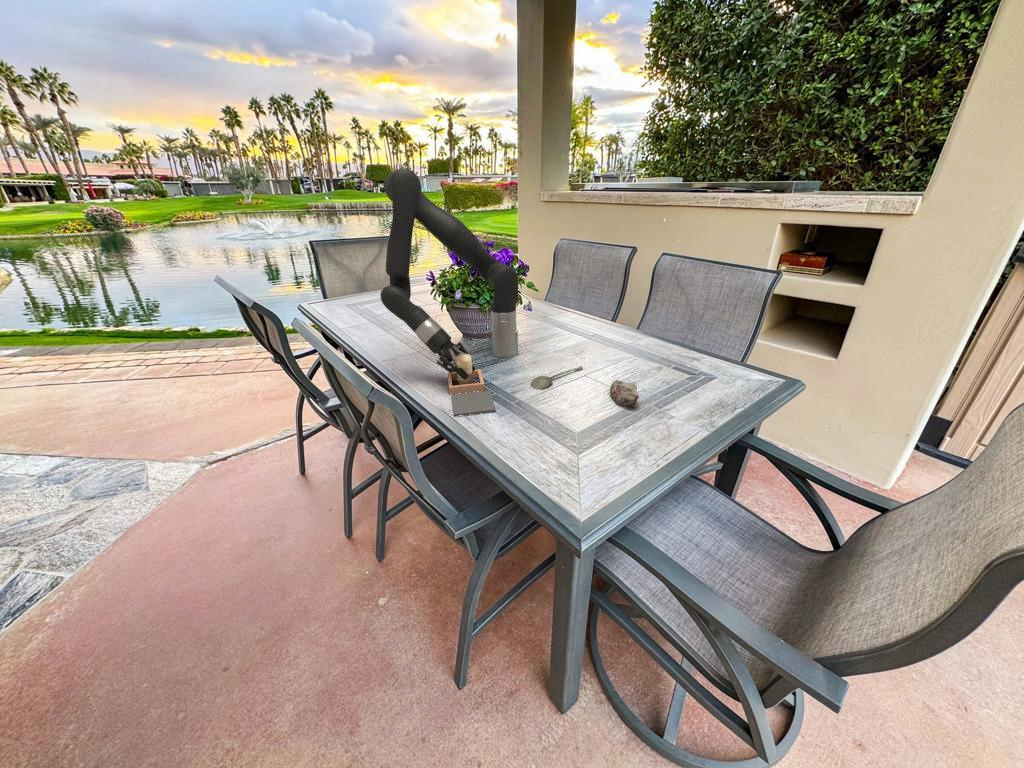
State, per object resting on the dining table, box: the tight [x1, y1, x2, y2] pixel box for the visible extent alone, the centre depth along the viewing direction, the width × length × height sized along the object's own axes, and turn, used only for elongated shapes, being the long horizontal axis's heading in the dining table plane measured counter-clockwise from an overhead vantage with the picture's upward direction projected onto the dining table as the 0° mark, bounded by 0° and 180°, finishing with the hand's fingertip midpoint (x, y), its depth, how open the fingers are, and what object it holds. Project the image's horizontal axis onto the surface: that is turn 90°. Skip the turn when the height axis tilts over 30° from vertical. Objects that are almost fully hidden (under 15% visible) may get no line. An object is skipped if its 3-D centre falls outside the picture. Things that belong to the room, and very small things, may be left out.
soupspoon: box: [530, 366, 584, 391], centre depth 131 cm, size 22×3×7 cm
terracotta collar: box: [447, 368, 486, 395], centre depth 128 cm, size 11×11×2 cm
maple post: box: [456, 353, 474, 385], centre depth 126 cm, size 5×5×10 cm
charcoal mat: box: [451, 390, 497, 417], centre depth 117 cm, size 12×12×1 cm
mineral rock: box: [609, 379, 640, 409], centre depth 118 cm, size 15×8×4 cm, turn 168°
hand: (470, 374), depth 126 cm, fingers closed on maple post, 4 cm apart
